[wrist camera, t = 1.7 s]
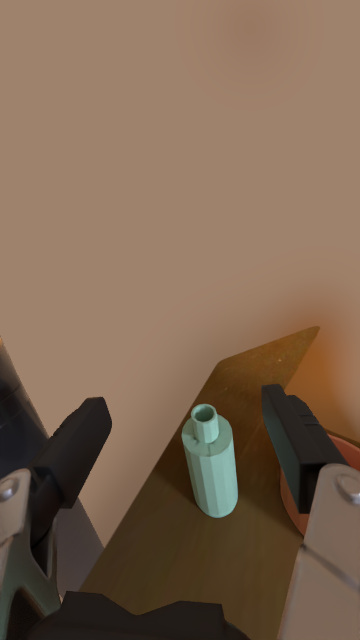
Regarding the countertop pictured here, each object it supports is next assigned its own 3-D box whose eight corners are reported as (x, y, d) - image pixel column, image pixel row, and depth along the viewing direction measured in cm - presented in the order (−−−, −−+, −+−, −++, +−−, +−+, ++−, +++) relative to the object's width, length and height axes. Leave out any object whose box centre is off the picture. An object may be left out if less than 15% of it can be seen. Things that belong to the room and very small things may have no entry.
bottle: (214, 531, 24) (200, 448, 19) (185, 486, 29) (168, 412, 24) (247, 493, 27) (241, 414, 22) (215, 458, 32) (205, 388, 27)
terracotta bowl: (373, 607, 17) (384, 576, 16) (262, 495, 26) (262, 466, 25) (404, 510, 23) (415, 479, 21) (303, 444, 32) (305, 418, 30)
